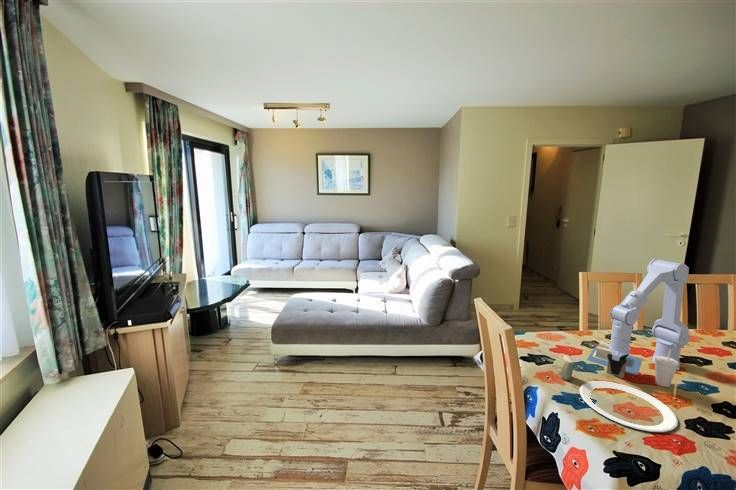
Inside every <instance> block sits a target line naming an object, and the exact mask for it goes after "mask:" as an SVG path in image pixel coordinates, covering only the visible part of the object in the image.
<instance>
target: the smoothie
mask: <svg viewBox="0 0 736 490" xmlns="http://www.w3.org/2000/svg"><path fill="white" fill-rule="evenodd" d="M670 354H671V349H669V353H668V357H665V356H655V359H654V361H655V363H654V365H655V366H654V368H655V369H654V371H655V372H654V373H655V383H656V384H658V385H659V386H662V387H664V388H665V387H670V386H671V384H672V381H673V379H674V375H675V373H676V371H677V370H676V368H677V367H678V366H679V367H680V365H679V363H678V362H677V361H676V360H674V359H671V358H670ZM654 361H653V362H654Z"/></svg>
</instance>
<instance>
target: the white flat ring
mask: <svg viewBox="0 0 736 490" xmlns="http://www.w3.org/2000/svg"><path fill="white" fill-rule="evenodd" d="M595 388H597V389H611V390H612V389H613V390H618V391H623V392H627V393H629V394H632V395H634V396H637V397H639V398H641V399H643V400H644V401H646V402H648V403H650V404H651V405H652V406H653V407H655V408H657V410H658V409H659V410H660V411H659V412H660V413H661V415H662V417H663V419H662V420H663V421H662V422H661V423H660V424H655V425H643V424H642V425H641V424H636V423H632V422H629V421H626V420H623V419H620V418H618V417H616V416H614V415H611V414H610V413H608V412H606V411H604V410H603V409H602V408H601V407H599V406H598V405H597V404H596V403H595V402H594V401H593V399H592V398H591V399H592V400H591V399H590V396H591V393H592V392H593V391H594V389H595ZM595 390H596V389H595ZM590 392H591V393H590ZM589 393H590V394H589ZM579 395H580V396H581V399H582V401H584V403H585V404H587V406H588V407H590V408H591V409H592V410H593V411H595V412H596V413H598V414H599V415H601V416H603V417H605V418H606V419H608V420H610V421H612V422H615V423H617V424H620V425H622V426H625V427H628V428H632V429H634V430H638V431H643V432H649V433H667V432H671V431H674V430H675V429H676V428H678V424H679V419H678V417H677V416H676V414H675V413H674V411H672V410H671V409H670V407H668V405H666V404H664V403H663V402H662V401H661V400H659V399H658V398H656V397H654V396H652V395H650V394H648V393H646V392H644V391H642V390H640V389H636V388H635V387H631V386H629V385H625V384H621V383H618V382H612V381H605V380H593V381H587V382H585V383H582V384H581V386H580V387H579ZM589 395H590V396H589ZM592 401H593V402H594V403H595V404H594V403H593V402H592Z"/></svg>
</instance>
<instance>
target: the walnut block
mask: <svg viewBox="0 0 736 490" xmlns="http://www.w3.org/2000/svg"><path fill="white" fill-rule="evenodd" d="M626 364H627V361H626V363H625V364H624V365H623V366H622V368H621V370H620V373H619V375H616V374H613V373H611V367H610V362H609V360H608V366H606V367H607V368H606V374H608V375H612V376H615V377H618V378H621V379H624V378H625V375H626V372H625V371H626Z"/></svg>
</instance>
